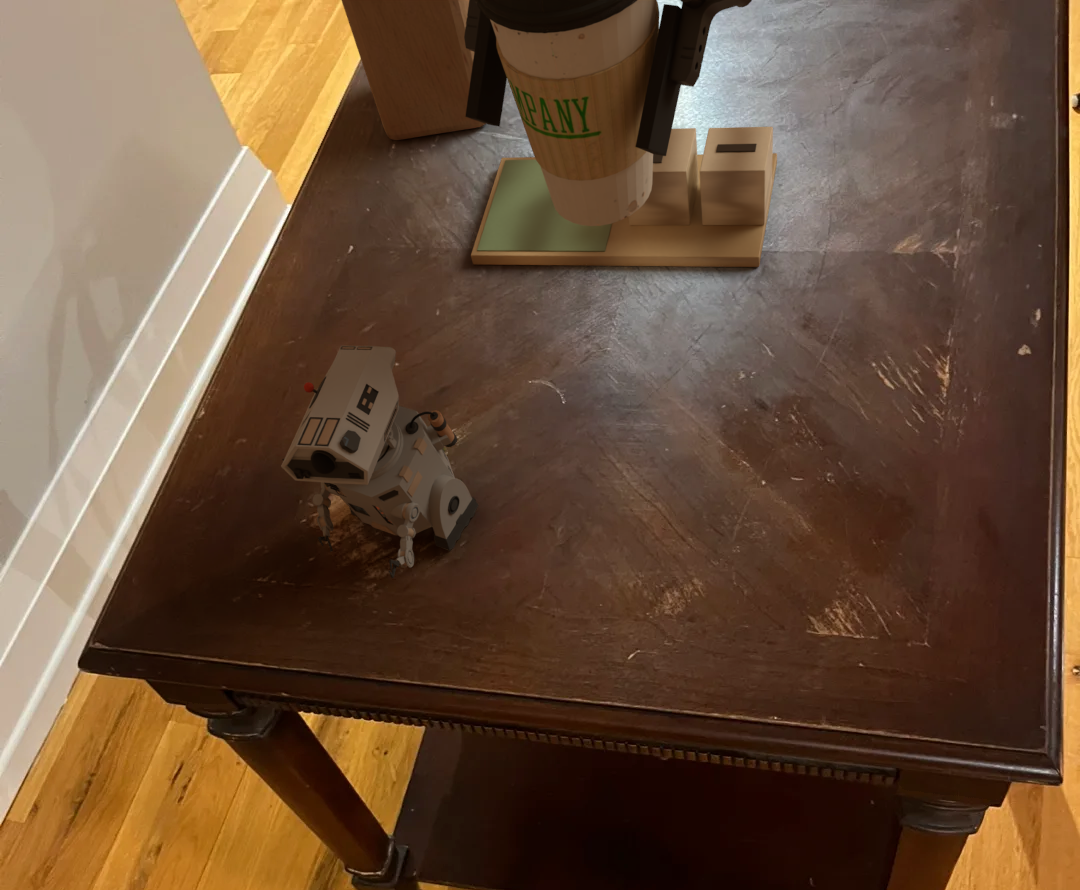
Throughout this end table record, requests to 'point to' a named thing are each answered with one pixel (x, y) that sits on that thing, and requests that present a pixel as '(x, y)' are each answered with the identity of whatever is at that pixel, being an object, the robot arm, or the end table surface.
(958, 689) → the end table surface
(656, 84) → the robot arm
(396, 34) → the wooden block
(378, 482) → the figurine
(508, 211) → the word board
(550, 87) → the coffee cup
